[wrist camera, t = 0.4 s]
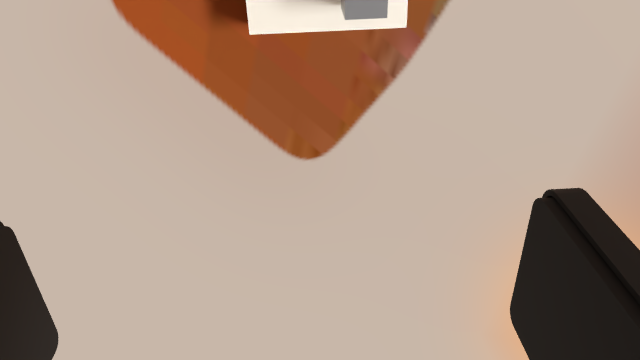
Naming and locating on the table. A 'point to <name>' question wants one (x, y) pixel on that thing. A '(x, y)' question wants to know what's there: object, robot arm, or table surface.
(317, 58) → the table surface
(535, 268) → the robot arm
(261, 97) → the table surface
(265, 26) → the switch box
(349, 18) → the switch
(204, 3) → the table surface
